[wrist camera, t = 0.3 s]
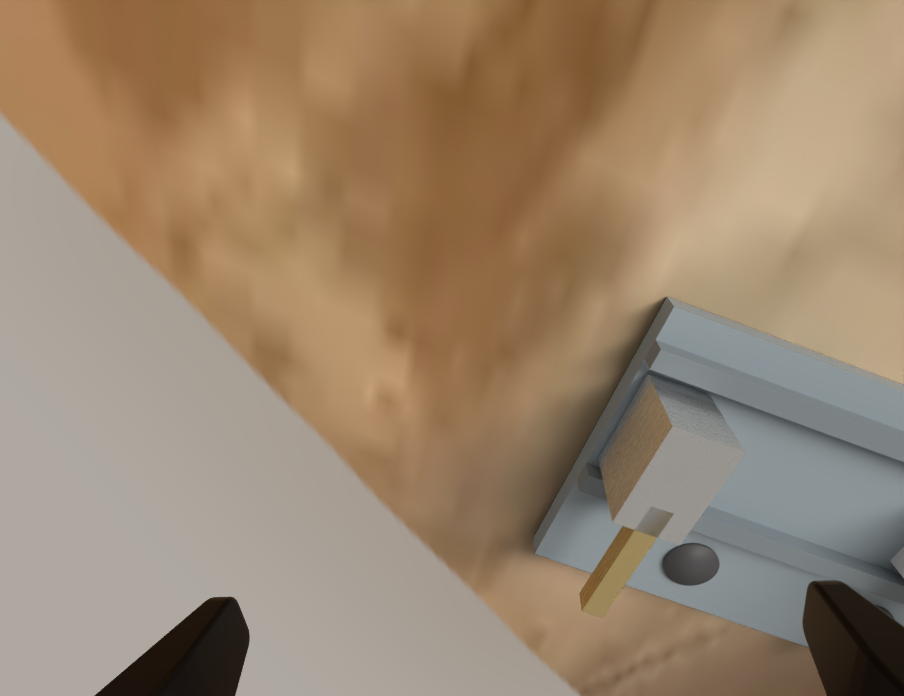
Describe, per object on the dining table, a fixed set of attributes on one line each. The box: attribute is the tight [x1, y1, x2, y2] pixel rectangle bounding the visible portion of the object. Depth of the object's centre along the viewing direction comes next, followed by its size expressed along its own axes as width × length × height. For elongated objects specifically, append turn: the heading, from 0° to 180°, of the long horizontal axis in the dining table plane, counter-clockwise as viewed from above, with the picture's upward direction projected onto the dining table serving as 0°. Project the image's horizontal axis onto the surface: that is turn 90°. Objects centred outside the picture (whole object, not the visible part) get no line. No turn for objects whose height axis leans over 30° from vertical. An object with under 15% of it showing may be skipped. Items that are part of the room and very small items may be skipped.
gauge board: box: [534, 297, 904, 647], centre depth 21 cm, size 16×12×4 cm
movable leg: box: [580, 373, 746, 618], centre depth 20 cm, size 2×8×4 cm, turn 161°
